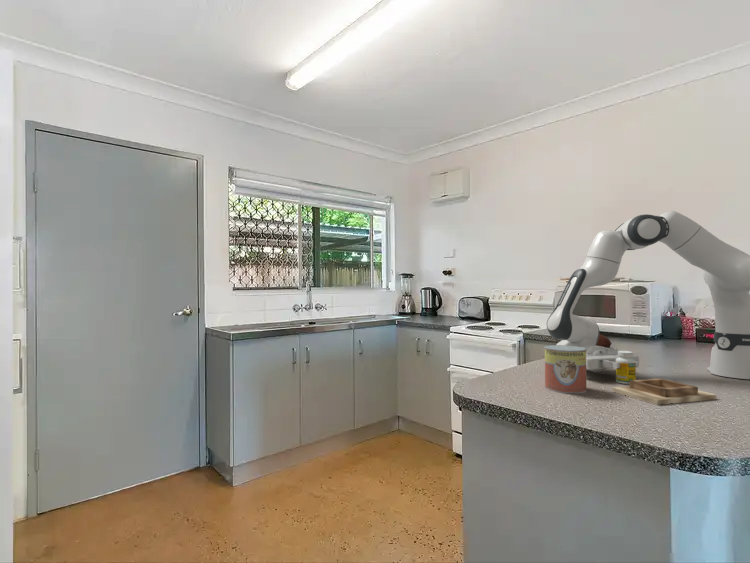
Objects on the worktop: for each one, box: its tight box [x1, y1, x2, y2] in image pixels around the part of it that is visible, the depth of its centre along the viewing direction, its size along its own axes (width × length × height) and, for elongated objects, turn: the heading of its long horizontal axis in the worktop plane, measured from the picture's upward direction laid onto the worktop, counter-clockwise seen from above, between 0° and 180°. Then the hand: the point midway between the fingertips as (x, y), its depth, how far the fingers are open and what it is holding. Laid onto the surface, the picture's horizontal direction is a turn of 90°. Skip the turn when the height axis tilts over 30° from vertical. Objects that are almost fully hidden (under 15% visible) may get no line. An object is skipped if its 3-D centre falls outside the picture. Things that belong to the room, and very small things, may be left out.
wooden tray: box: [611, 377, 718, 406], centre depth 116 cm, size 20×14×3 cm
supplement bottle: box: [615, 350, 637, 385], centre depth 132 cm, size 5×5×10 cm
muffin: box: [596, 333, 612, 348], centre depth 176 cm, size 12×11×10 cm
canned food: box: [543, 344, 588, 394], centre depth 124 cm, size 11×11×12 cm
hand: (627, 365), depth 131 cm, fingers closed on supplement bottle, 5 cm apart
